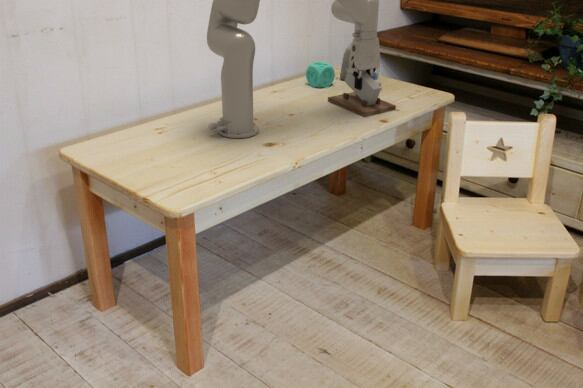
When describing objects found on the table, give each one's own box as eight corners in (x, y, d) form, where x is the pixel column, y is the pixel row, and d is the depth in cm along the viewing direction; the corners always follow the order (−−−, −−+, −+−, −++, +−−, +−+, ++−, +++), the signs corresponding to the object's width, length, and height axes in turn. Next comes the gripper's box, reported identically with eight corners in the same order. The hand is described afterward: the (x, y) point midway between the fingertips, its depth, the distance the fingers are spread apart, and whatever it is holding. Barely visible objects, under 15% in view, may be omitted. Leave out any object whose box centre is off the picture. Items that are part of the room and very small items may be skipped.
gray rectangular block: (367, 105, 216) (373, 89, 211) (344, 81, 223) (349, 64, 218) (375, 103, 218) (381, 87, 213) (351, 79, 225) (357, 63, 220)
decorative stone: (349, 82, 247) (351, 44, 240) (336, 79, 250) (338, 41, 243) (363, 76, 255) (366, 39, 248) (351, 73, 258) (353, 36, 251)
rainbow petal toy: (350, 87, 241) (351, 68, 238) (372, 84, 245) (373, 66, 242) (362, 93, 234) (363, 74, 231) (384, 90, 238) (385, 71, 235)
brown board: (364, 117, 210) (365, 107, 209) (327, 101, 225) (328, 91, 223) (395, 109, 218) (396, 99, 216) (358, 94, 232) (358, 85, 231)
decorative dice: (320, 80, 248) (321, 60, 245) (334, 85, 243) (335, 65, 239) (305, 84, 244) (305, 63, 240) (319, 89, 238) (319, 68, 235)
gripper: (353, 39, 203) (350, 94, 212) (391, 33, 212) (387, 86, 220) (339, 35, 209) (337, 89, 217) (376, 29, 217) (373, 81, 226)
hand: (362, 87), depth 219 cm, fingers closed on gray rectangular block, 3 cm apart
